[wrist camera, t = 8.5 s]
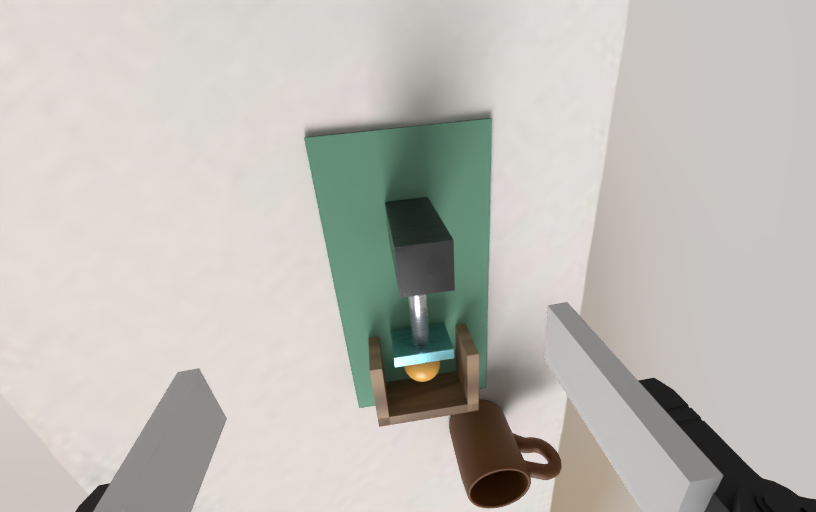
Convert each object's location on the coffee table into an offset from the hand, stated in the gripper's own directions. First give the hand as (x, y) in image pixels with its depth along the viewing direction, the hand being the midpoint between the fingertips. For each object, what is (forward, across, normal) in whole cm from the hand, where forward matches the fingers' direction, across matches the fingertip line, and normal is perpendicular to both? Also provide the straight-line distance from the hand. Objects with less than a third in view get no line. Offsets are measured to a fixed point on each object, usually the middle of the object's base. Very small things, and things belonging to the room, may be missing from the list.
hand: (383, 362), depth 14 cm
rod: (+21, +3, -9) cm, 23 cm away
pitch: (+22, +3, -11) cm, 24 cm away
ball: (+19, +2, -19) cm, 27 cm away
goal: (+21, +2, -20) cm, 29 cm away
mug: (+21, +11, -33) cm, 41 cm away
